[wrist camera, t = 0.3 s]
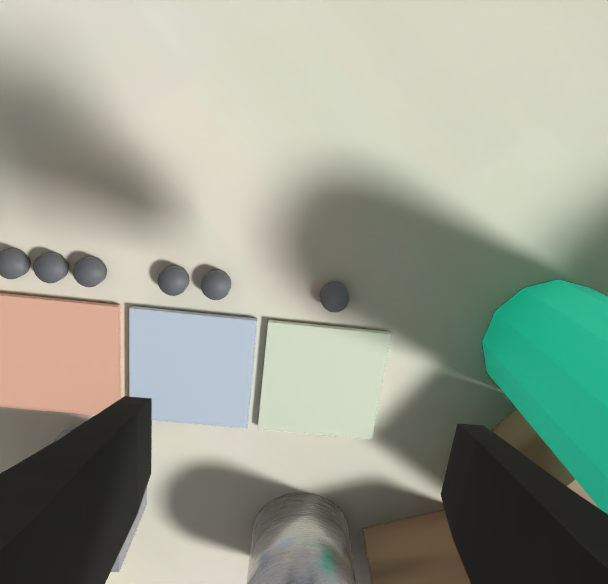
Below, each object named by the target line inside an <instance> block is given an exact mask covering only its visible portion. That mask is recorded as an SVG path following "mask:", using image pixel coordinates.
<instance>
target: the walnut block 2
mask: <svg viewBox="0 0 608 584" xmlns="http://www.w3.org/2000/svg"><path fill="white" fill-rule="evenodd" d="M492 432H493V433H495V434H496V435H498V436H499V437H501V438H502V439H503V440H505V441H506V442H508V443H509V444H510V445H512V446H513V447H514V448H516V449H517V450H518V451H520V452H521V453H522V454H524V455H525V456H526V457H528V458H529V459H530V460H532V461H533V462H534V463H536V464H537V465H538V466H540V467H541V468H542V469H544V470H545V471H546V472H548V473H549V474H551V475H552V476H553V477H555V478H556V479H557V480H559V481H560V482H562V483H563V484H564V485H566V486H567V487H569V488H570V489H571V490H573V491H574V492H576V493H577V494H578V495H580V496H581V497H583V498H584V499H586V500H587V501H589V502H590V503H592V504H593V505H595V506H596V507H598V506H597V505H596V503H595V502H594V501H593V500H592V499H591V497H590V496H589V495H588V494H587V493H586V491H585V490H584V489H583V488H582V487H581V485H580V484H579V483H578V482H577V481H576V479H575V478H574V477H573V476H572V474H571V473H570V472H569V471H568V470H567V468H566V467H565V466H564V465H563V464H562V462H561V461H560V460H559V459H558V458H557V456H556V455H555V454H554V453H553V452H552V450H551V449H550V448H549V447H548V446H547V444H546V443H545V442H544V441H543V439H542V438H541V437H540V436H539V435H538V433H537V432H536V431H535V430H534V429H533V427H532V426H531V425H530V424H529V423H528V421H527V420H526V419H525V418H524V417H523V415H522V414H521V413H520V412H519V410H518V409H517V408H516V409H515V410H514V411H513V412H512V413H511V414H510V415H509V416H507V417H506V418H505V419H504V420H503V421H502V422H501V423H500V424H499V425H498V426H497V427H496V428H495V429H493V430H492ZM598 508H599V507H598ZM599 509H600V508H599Z"/></svg>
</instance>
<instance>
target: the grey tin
mask: <svg viewBox="0 0 608 584" xmlns="http://www.w3.org/2000/svg"><path fill="white" fill-rule="evenodd" d="M247 584H355V576H354V569H353V561H352V554H351V547H350V539H349V532H348V525H347V521H346V518H345V516H344V514H343V513H342V511H341V510H340V509H339V508H338V507H337V506H336V505H335V504H334V503H333V502H331V501H330V500H328V499H326V498H324V497H321V496H319V495H315V494H309V493H293V494H287V495H284V496H281V497H278V498H276V499H274V500H272V501H271V502H269V503H268V504H267V505H265V506H264V507H263V508H262V509H261V511H260V512H259V513H258V515H257V517H256V519H255V521H254V525H253V533H252V542H251V551H250V560H249V569H248V578H247Z"/></svg>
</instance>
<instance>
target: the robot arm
mask: <svg viewBox="0 0 608 584" xmlns="http://www.w3.org/2000/svg"><path fill="white" fill-rule="evenodd" d="M151 425H152V398H141V397H128V396H125V397H123V398H121V399H120V400H118V401H116V402H115V403H113V404H112V405H110V406H109V407H107V408H106V409H104V410H103V411H101V412H100V413H98V414H97V415H95V416H94V417H92V418H91V419H89V420H88V421H86V422H85V423H83V424H82V425H80V426H79V427H77V428H76V429H74V430H73V431H71V432H69V433H68V434H66V435H65V436H63V437H62V438H60V439H59V440H57V441H55V442H54V443H52V444H50V445H49V446H47V447H45V448H44V449H42V450H40V451H39V452H37V453H35V454H34V455H32V456H30V457H28V458H27V459H25V460H23V461H22V462H20V463H18V464H17V465H15V466H13V467H11V468H10V469H8V470H6V471H4V472H2V473H0V584H105V582H106V580H107V578H108V576H109V574H110V572H111V570H112V568H113V565H114V563H115V561H116V559H117V557H118V555H119V553H120V551H121V549H122V546H123V544H124V542H125V540H126V538H127V536H128V534H129V531H130V529H131V527H132V525H133V523H134V521H135V518H136V516H137V514H138V511H139V508H140V505H141V502H142V499H143V497H144V493H145V490H146V487H147V484H148V481H149V478H150V475H151ZM441 497H442V501H443V505H444V509H445V513H446V517H447V521H448V524H449V528H450V531H451V535H452V538H453V540H454V543H455V546H456V548H457V551H458V553H459V556H460V558H461V561H462V563H463V566H464V568H465V571H466V573H467V575H468V578H469V580H470V583H471V584H608V514H607V513H605V512H604V511H602V510H601V509H599V508H598V507H596V506H595V505H593V504H592V503H590V502H589V501H587V500H586V499H584V498H583V497H581V496H580V495H578V494H577V493H576V492H574V491H573V490H571V489H570V488H569V487H567V486H566V485H564V484H563V483H562V482H560V481H559V480H557V479H556V478H555V477H553V476H552V475H551V474H549V473H548V472H546V471H545V470H544V469H542V468H541V467H540V466H538V465H537V464H536V463H534V462H533V461H532V460H530V459H529V458H528V457H526V456H525V455H524V454H522V453H521V452H520V451H518V450H517V449H516V448H514V447H513V446H512V445H510V444H509V443H508V442H506V441H505V440H503V439H502V438H501V437H499V436H498V435H496V434H495V433H493V432H492V431H490V430H489V429H487V428H486V427H484V426H480V425H468V424H457V428H456V433H455V437H454V441H453V445H452V449H451V454H450V458H449V462H448V466H447V470H446V475H445V479H444V483H443V487H442V492H441Z"/></svg>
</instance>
